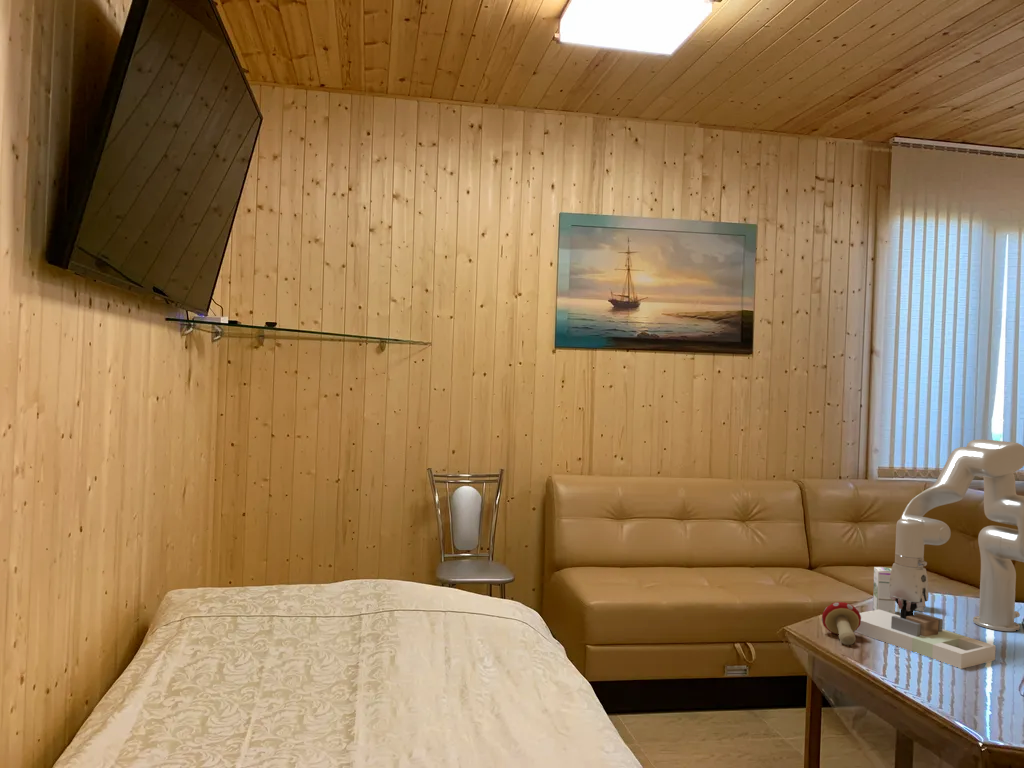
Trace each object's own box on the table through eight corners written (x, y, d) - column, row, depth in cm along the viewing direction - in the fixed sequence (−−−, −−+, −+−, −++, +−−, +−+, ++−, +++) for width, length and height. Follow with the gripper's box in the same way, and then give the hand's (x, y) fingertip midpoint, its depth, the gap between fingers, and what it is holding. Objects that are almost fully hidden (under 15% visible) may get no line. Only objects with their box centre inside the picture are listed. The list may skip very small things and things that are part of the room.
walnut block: (919, 627, 228) (919, 614, 228) (938, 634, 223) (938, 620, 223) (905, 630, 226) (905, 616, 226) (924, 636, 220) (924, 622, 220)
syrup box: (895, 615, 253) (897, 571, 253) (876, 614, 254) (878, 570, 254) (890, 610, 259) (892, 567, 259) (871, 609, 260) (873, 566, 260)
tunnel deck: (878, 621, 246) (879, 598, 246) (995, 660, 215) (996, 633, 215) (845, 628, 238) (846, 604, 238) (960, 668, 207) (962, 641, 207)
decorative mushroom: (857, 620, 218) (846, 588, 232) (820, 635, 222) (812, 603, 236) (876, 649, 220) (864, 616, 234) (840, 663, 224) (830, 630, 238)
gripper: (941, 566, 224) (938, 629, 224) (894, 555, 237) (891, 614, 237) (924, 568, 221) (922, 632, 221) (878, 556, 234) (875, 617, 234)
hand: (906, 623), depth 229 cm, fingers closed
